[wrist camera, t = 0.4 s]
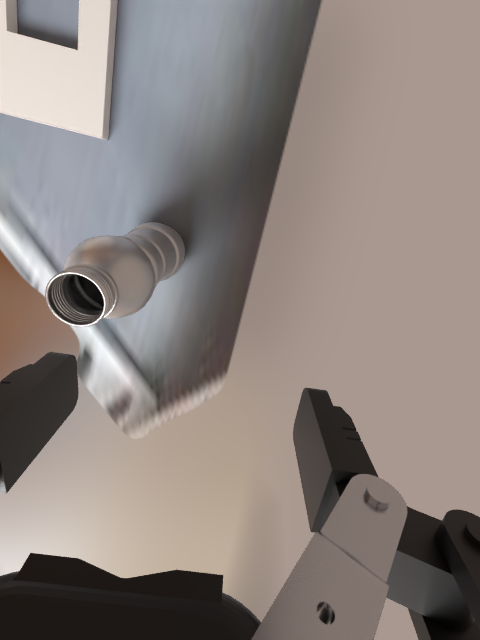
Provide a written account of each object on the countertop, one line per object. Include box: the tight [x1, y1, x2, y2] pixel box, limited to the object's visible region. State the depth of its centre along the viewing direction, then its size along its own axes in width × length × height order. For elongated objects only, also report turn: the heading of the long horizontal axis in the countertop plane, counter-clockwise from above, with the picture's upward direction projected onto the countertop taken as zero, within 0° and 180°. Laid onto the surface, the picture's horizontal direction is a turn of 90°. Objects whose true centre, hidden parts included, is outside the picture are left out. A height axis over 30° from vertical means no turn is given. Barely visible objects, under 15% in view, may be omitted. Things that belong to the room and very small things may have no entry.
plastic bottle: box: [45, 222, 185, 327], centre depth 28 cm, size 6×7×20 cm
